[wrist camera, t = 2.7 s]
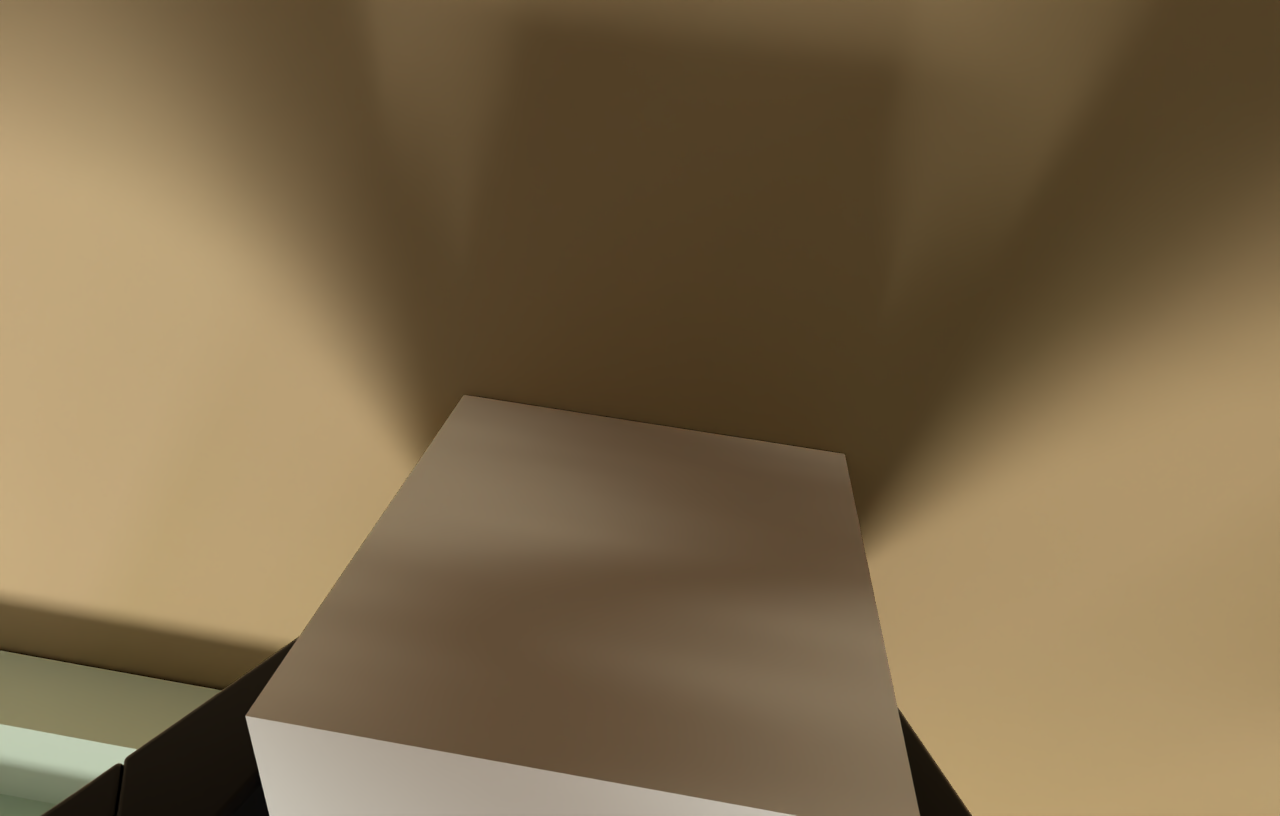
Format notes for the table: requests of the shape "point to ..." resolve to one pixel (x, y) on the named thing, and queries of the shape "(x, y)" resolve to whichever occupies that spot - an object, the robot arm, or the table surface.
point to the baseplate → (75, 725)
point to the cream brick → (594, 636)
